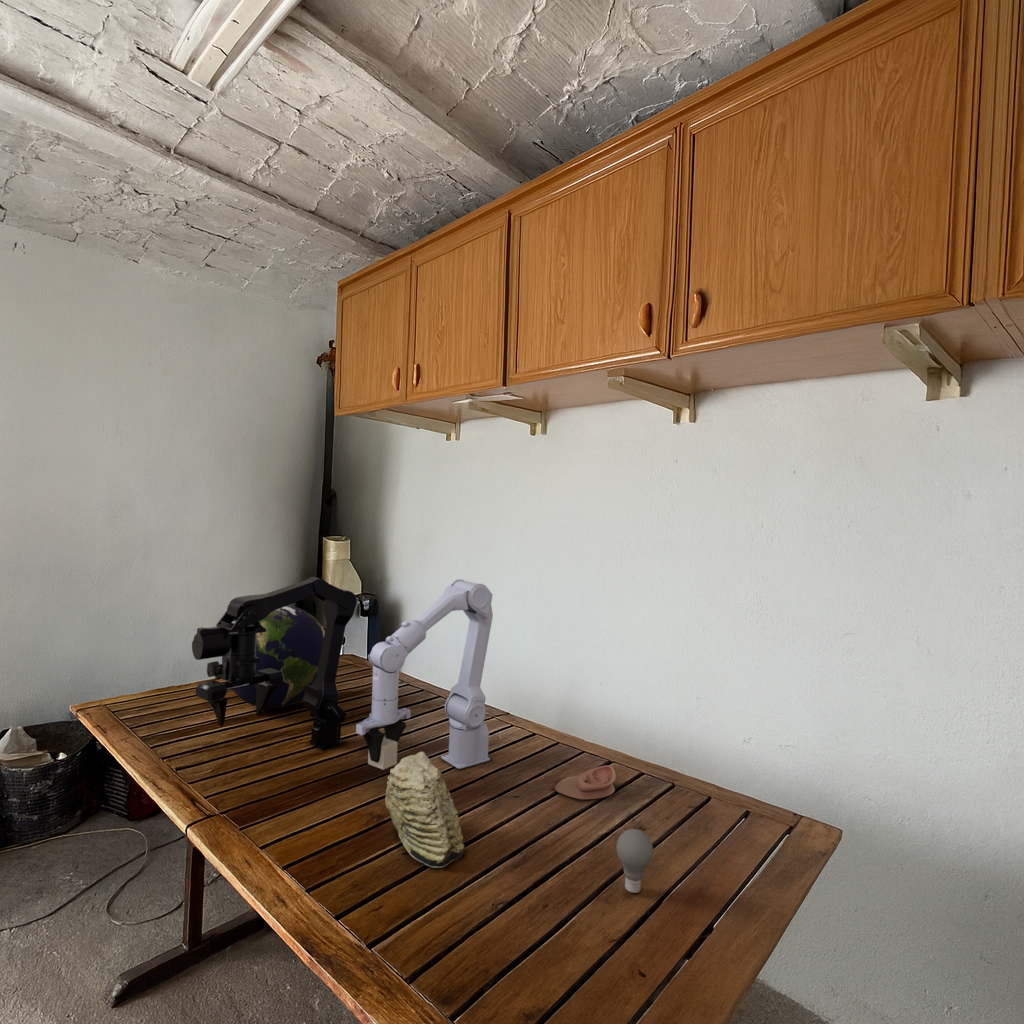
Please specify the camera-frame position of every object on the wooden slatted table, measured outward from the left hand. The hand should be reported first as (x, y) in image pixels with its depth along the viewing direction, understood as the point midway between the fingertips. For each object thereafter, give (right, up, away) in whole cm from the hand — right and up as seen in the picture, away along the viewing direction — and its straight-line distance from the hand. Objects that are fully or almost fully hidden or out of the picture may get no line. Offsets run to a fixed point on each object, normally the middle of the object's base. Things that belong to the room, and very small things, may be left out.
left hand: (240, 720), depth 145 cm
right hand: (+34, -7, -4) cm, 35 cm away
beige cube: (+33, -8, -4) cm, 35 cm away
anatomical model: (+79, -15, -3) cm, 80 cm away
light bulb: (+83, -16, -40) cm, 93 cm away
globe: (-8, -10, +43) cm, 45 cm away
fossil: (+46, -14, -28) cm, 55 cm away
